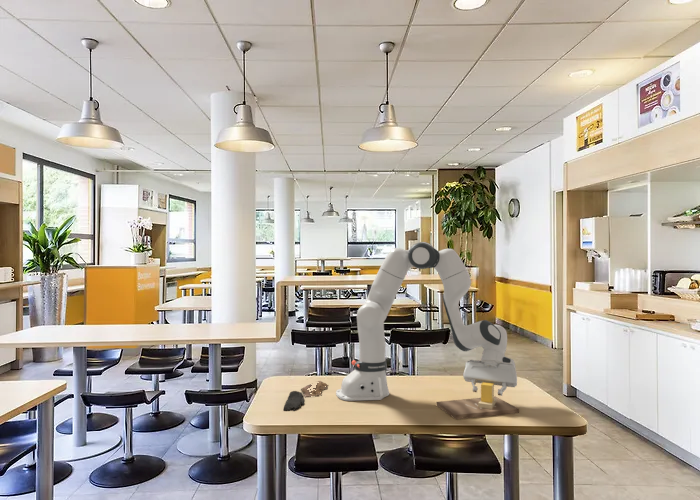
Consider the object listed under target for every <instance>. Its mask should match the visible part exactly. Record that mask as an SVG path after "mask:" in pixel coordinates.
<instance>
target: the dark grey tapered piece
mask: <svg viewBox="0 0 700 500" xmlns="http://www.w3.org/2000/svg"><path fill="white" fill-rule="evenodd" d="M305 402H306V400H305V396H304V394H303V392H302V391H301V392H300V391H298V390H293V391H290V392H289V395H288V397H287V399H286V401H285V403H284V406H283V411H284V412H290V411H293V412H295V411H297V410H298V409H299V407H300V406H305Z"/></svg>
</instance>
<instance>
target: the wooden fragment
mask: <svg viewBox="0 0 700 500" xmlns="http://www.w3.org/2000/svg"><path fill="white" fill-rule="evenodd" d="M317 382H319V383H317V385H316V388H313V389H315V390H316V391H315V390H313V391H311V392H309V390H307V389H308V388H310V387H311V386H312V385H311V384H312V383H311V384H308V385H306V386H304V387H301V389H300V390H301V393H302V394H303V397H304V398H312V397H311V396H315V397H319V395H321V394H323V392H322V390H323V391H325V390H327V389H328V388H329V387H328V386H329V384H327V383H326V382H323V381H321V380H318V381H317ZM325 386H326V387H325ZM324 389H325V390H324ZM310 390H311V389H310ZM320 392H321V393H320ZM310 393H312V394H310ZM321 396H322V395H321Z"/></svg>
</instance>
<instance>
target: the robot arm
mask: <svg viewBox="0 0 700 500" xmlns="http://www.w3.org/2000/svg"><path fill="white" fill-rule="evenodd" d="M412 267H413V268H416V269H418V270H425V269H426V270H427V269H434V270H435V271H436V272H437V273H438V276H439V277H440V280H441V283H442V285H443V294H442V302H443V305H444V306H443V307H444V310H445V313H446V317H447V318H448V319H447V320H448V323H449V326H450V328H451V333H452V340H453V343H454V345H455V346H456V347H457V349H459V350H461V351H462V352H469V351H471V350H474V349H477V348H481V347H482V349H483V351H482V354H481V358H480V359H481V360H474V359H469V360H467V361H465V366H464V371H463V375H462V376H463V380H464V381H465V382H466V383H471V385H472V392H473V393H478V389H479V388H478V386H476V384H482V383H483V382H487V383H494V386H499V387H500V386H501V388H498V389H497V395H498V396H501V397H503V393H504V392H505V391H506V389H507V387H508V388H515V387H517V386H518V376H517V375H518V374H517V370H516V363H515V360H514V359H513V358H510V357H508V356H505V354H506V352H507V346H508V332H507V329H505V328H504V327H503V326H501V325H499V324H493V323H492V322H491V321H490V320H487V319H484V320H479V321H476V322H474V323H471V324H468V325H466V324H465V323H464V321H463V318H462V314H461V311H460V307H459V304H460V301H461V299H462V298H463V297H464V296H466V294H467V293H468V291H469V290H470V287H471V285H472V281H471V280H472V279H471V276H470V274H469V272H468V270H467V267H466V265H465V263H464V262H463V260H462V258H461V257H460V256H459V254H458V253H457V251H456V250H455V249H453V248H444V249H443V248H442V249H441V250H437V249H436V248H435V247H434V246H433V245H432V244H430V243H429V242H426V241H419V242H417V243H415V244H413V245H412V246H411V247H409V249H403V248H401V247H394V248H392V249H390V251H389V252H388V253H387V255H386V256H385V258H384V259H383V261H382V263H381V265H380V267H379V270H378V271H377V273H376V276H375V278H374V279H373V281H372V283H371V287H370V290H369V292H368V295H367V298H366V300H365V302H364V304H362V305H360V307H359V308H358V310H357V311H356V323H357V324H356V325H357V333H358V334H357V335H358V341H359V342H358V343H359V344H358V345H359V346H358V349H359V351H358V352H359V353H358V355H359V357H358V358H359V359H358V360H357V361H356V360H355V359H353V360H352V361H351V365H353V366H354V369H353V370H352V371H351V372H350V373H349V374H348V375H346V376H344V377H343V379H342V382H341V388H339V389H336V391H335V394H336V397H337V398H338V399H340V400H341V401H345V402H348V401H350V402H351V401H352V402H353V401H355V402H356V401H379V400H380V401H381V400H383V399H384V398H385V397H389V396H390V391H389V386H388V381H387V371H388V366H387V365H388V364H387V359H386V337H385V324H384V322H385V321H386V319H387V317H388V315H389V313H390V310H391V308H392V306H393V304H394V302H395V299H396V297H397V294H398V293H399V290H400V288H401V286H402V284H403V282H404V279H405V277H406V275H407V273H408V271H409V270H410V269H411V268H412Z"/></svg>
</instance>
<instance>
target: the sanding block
mask: <svg viewBox="0 0 700 500" xmlns="http://www.w3.org/2000/svg"><path fill="white" fill-rule="evenodd" d="M494 387H495V385H494V383H487V382H483V383H480V398H481V400H480V401H479V403H478V407H480V408H487V409H492V408H493V407H494V405H495V404H496V403H497V398H498V397H497V398H494V396H495V388H494Z"/></svg>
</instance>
